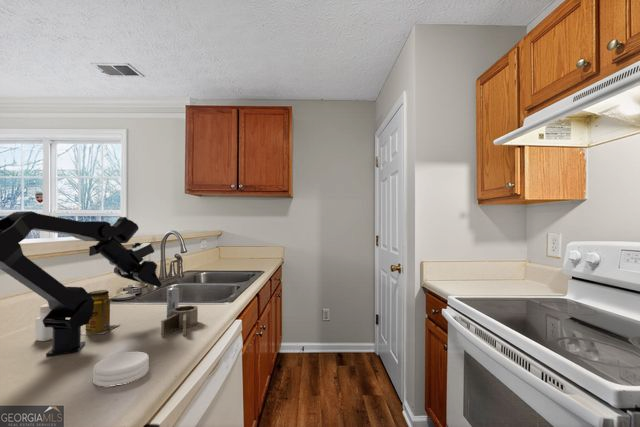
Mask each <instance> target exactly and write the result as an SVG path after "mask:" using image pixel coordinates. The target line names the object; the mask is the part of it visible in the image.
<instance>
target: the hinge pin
mask: <svg viewBox="0 0 640 427" xmlns="http://www.w3.org/2000/svg"><path fill="white" fill-rule="evenodd" d="M176 307H179V287H169V288H166V319H167V318H169V317H171V316H172V309H173V308H176Z"/></svg>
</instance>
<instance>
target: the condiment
mask: <svg viewBox="0 0 640 427" xmlns="http://www.w3.org/2000/svg"><path fill="white" fill-rule="evenodd" d="M88 293H89V294H92V296H91V297H92V298H93V299H94V308H93V311H92V314H91V317H90V320H89V323H88V324H86V325H85V330H84V331H83V332H81V336H82V335H84V336H85V335H89V336H90V335H105V333H108V332H110V331H112V330H113V329H114V328H115V329H116V328H117V327H119V326H120V325H121V323H120V324H110V323H111V299H110V296H109V293H110V292H109V291H108V290H107V289H101V290H94V291H93V290H92V291H89V292H88Z"/></svg>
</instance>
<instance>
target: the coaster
mask: <svg viewBox="0 0 640 427" xmlns="http://www.w3.org/2000/svg"><path fill="white" fill-rule="evenodd" d="M149 360H150V356H149V354H147V353H146V352H143V351H125V352H120V353H115V354H112V355H109V356H107V357H104V358H103V359H101V360H99V361H98V362H97V363H95V365H94V366H93V376H92V377H93V379H92V382H93V384H94V385H95V384H96V385H99V386H110V385H117V384H124V383H128V382H131V381H134V382H136V381H138V380H140V379H142V378H144V377H145V376H146V374H148V372H149V369H150V367H149V365H150V361H149ZM141 377H142V378H141ZM139 378H140V379H139ZM137 379H138V380H137ZM135 380H136V381H135ZM131 383H132V382H131ZM128 384H129V383H128ZM96 385H95V386H96ZM99 386H98V387H99Z"/></svg>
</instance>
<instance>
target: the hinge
mask: <svg viewBox="0 0 640 427" xmlns="http://www.w3.org/2000/svg"><path fill="white" fill-rule="evenodd" d="M198 310H199V308H198V305H189V304H188V305H181V306H179V305H178V307H176V308H173V309H172V316H171V317H169V318H167V317H166V318H165V319H163V320H161V322H160V324H161V325H160V330H161V331H160V332H161V333H160V337H161V338H165V337H166V336H168V335H170V334H172V333H173V332H175V331H177V330H178V329H182V336H183V337H184V336H185V337H186V336H187V328H192V327H194V326H197V325H198V323H199V322H198V317H199V316H198V312H199V311H198Z"/></svg>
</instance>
